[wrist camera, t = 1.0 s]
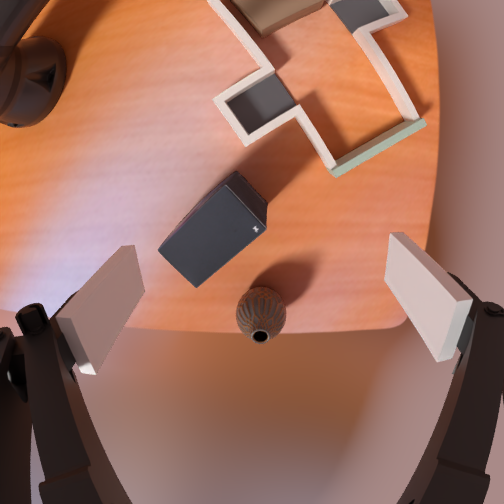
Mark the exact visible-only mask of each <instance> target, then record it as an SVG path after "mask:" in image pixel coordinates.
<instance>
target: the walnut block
mask: <svg viewBox="0 0 504 504" xmlns="http://www.w3.org/2000/svg"><path fill="white" fill-rule="evenodd" d="M230 1H231V2H232V3H233V5H234V6H235V7H236V8H237V9H238V10H239V11H240V12H241V14H242V15H243V16H244V17H245V18H246V19H247V21H248V22H249V23H250V24H251V25H252V26H253V28H254V29H255V30H256V31H257V33H258V34H259V35H260V36H261V37H262V38H264V37H266V36H268V35H270V34H272V33H273V32H275V31H277V30H279V29H281V28H283V27H285V26H287V25H289V24H291V23H292V22H294V21H296V20H299V19H301V18H303V17H305V16H307V15H309V14H311V13H313V12H315V11H318V10H320V9H321V7H322V5H323V3H324V1H325V0H230Z"/></svg>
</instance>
